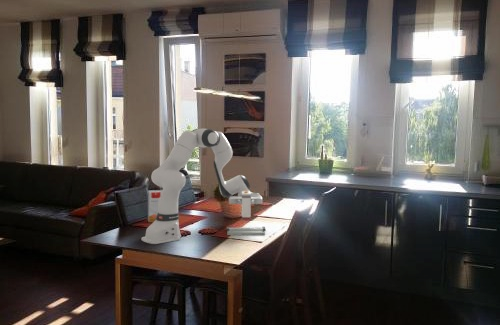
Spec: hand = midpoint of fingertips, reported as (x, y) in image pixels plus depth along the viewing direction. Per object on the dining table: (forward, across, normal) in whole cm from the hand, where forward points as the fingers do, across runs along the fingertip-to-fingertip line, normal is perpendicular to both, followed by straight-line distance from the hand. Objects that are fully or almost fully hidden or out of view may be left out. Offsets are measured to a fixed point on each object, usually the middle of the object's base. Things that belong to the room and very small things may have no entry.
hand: (246, 202), depth 254 cm
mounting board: (-2, 0, +18) cm, 19 cm away
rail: (-2, 0, +17) cm, 17 cm away
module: (-1, 0, +8) cm, 8 cm away
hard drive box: (-31, -55, +18) cm, 66 cm away
